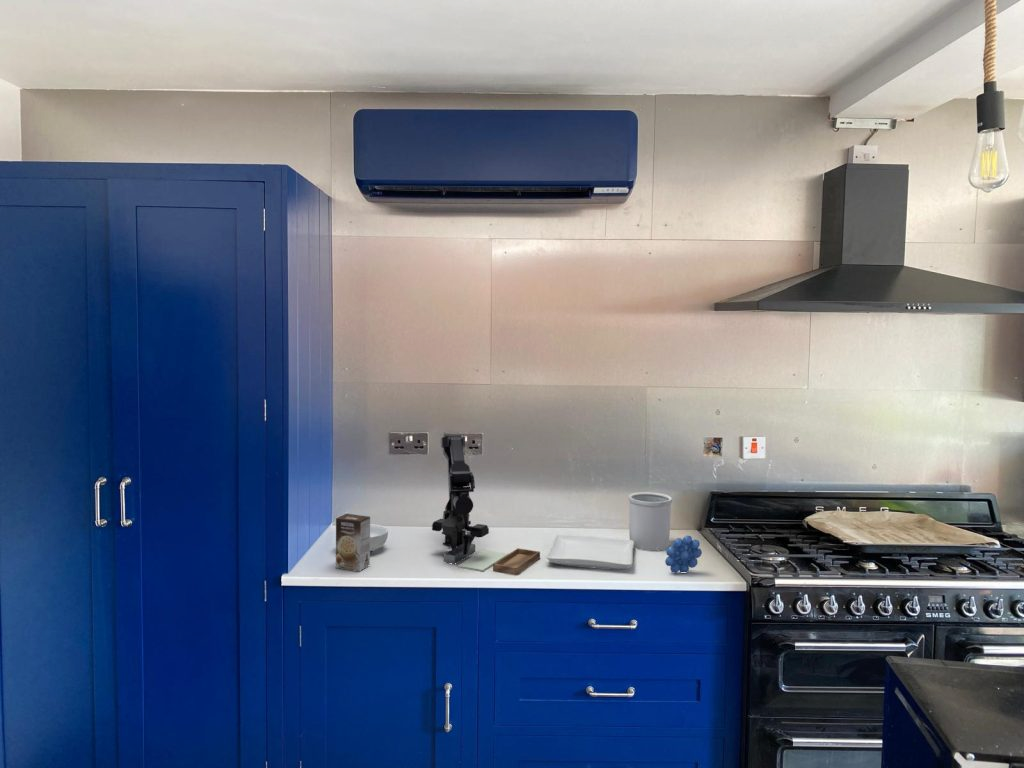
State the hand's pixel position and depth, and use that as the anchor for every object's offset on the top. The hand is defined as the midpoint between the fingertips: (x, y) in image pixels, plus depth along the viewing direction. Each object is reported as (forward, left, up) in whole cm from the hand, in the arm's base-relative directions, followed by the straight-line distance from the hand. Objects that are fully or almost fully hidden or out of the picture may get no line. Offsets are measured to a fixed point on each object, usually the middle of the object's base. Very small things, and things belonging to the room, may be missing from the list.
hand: (460, 553), depth 220 cm
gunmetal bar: (0, 0, -2) cm, 2 cm away
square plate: (+39, +20, -2) cm, 44 cm away
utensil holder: (+53, +42, -2) cm, 68 cm away
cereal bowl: (-33, -9, -2) cm, 34 cm away
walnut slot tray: (+20, +2, -1) cm, 20 cm away
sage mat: (+9, 0, -1) cm, 9 cm away
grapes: (+69, +19, -2) cm, 72 cm away
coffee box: (-25, -24, -2) cm, 35 cm away
